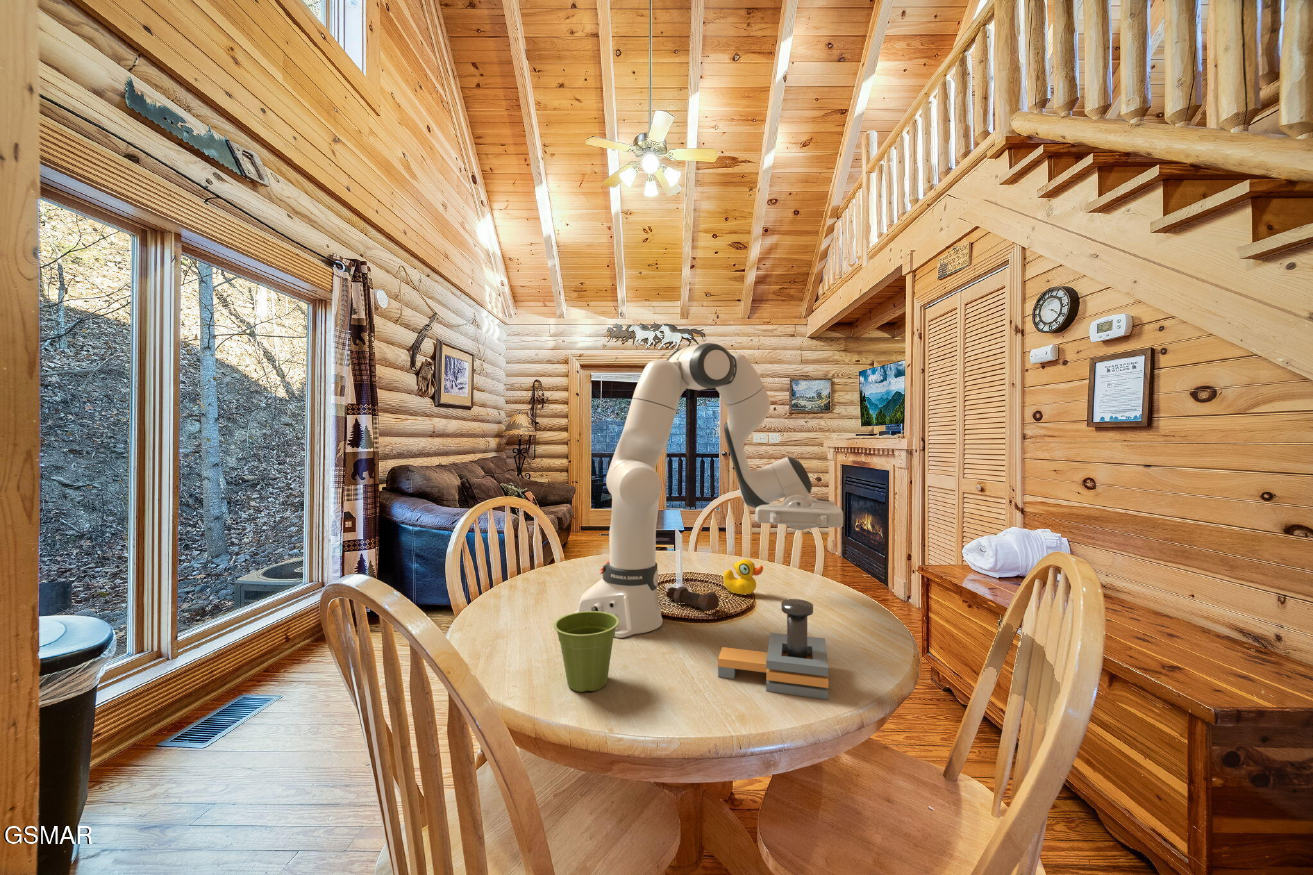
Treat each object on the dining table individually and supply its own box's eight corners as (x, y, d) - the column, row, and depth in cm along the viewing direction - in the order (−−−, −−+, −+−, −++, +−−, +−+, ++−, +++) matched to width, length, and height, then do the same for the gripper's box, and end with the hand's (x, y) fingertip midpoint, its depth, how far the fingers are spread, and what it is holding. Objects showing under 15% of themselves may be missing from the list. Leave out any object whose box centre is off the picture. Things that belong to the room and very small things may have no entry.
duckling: (765, 595, 139) (765, 559, 139) (760, 601, 134) (760, 564, 134) (727, 589, 144) (727, 554, 144) (720, 594, 140) (720, 558, 139)
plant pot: (627, 670, 96) (626, 612, 96) (607, 704, 85) (607, 637, 84) (569, 664, 99) (569, 607, 99) (543, 695, 87) (542, 631, 87)
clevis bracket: (715, 683, 91) (715, 654, 91) (725, 654, 103) (725, 627, 103) (828, 699, 85) (828, 667, 85) (825, 666, 97) (825, 638, 97)
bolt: (671, 605, 137) (715, 618, 126) (660, 600, 133) (703, 613, 123) (678, 584, 139) (721, 595, 128) (667, 579, 136) (710, 589, 125)
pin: (780, 686, 90) (780, 608, 90) (781, 671, 95) (782, 597, 95) (813, 690, 88) (813, 611, 88) (812, 675, 94) (812, 600, 94)
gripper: (757, 497, 130) (751, 505, 116) (840, 501, 124) (845, 509, 111) (756, 521, 130) (751, 532, 117) (840, 526, 124) (844, 538, 111)
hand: (797, 521), depth 114 cm, fingers open, 8 cm apart
